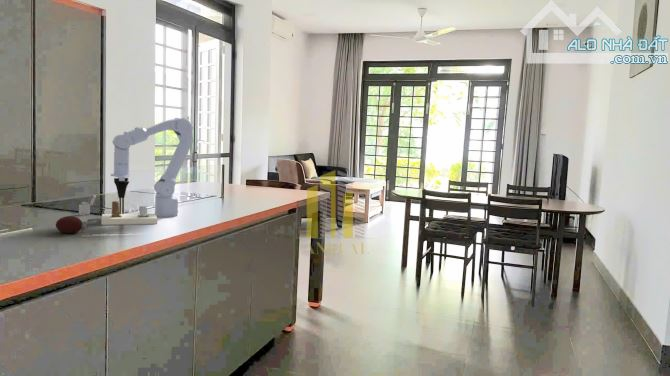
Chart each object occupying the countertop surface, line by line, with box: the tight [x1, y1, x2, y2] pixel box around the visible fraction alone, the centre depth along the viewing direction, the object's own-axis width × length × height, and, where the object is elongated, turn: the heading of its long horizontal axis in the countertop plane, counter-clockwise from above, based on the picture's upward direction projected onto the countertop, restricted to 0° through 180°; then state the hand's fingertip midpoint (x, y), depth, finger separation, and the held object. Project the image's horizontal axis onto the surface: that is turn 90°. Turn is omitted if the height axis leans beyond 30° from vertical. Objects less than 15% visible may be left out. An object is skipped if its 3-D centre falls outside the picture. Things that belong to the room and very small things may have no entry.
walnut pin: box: [111, 200, 121, 217], centre depth 186 cm, size 3×3×8 cm
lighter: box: [78, 194, 97, 216], centre depth 201 cm, size 7×2×8 cm, turn 156°
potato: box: [55, 215, 84, 234], centre depth 168 cm, size 7×8×6 cm
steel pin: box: [139, 205, 148, 217], centre depth 191 cm, size 3×3×6 cm
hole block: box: [100, 213, 158, 226], centre depth 189 cm, size 20×10×3 cm, turn 115°
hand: (121, 196), depth 196 cm, fingers open, 7 cm apart
